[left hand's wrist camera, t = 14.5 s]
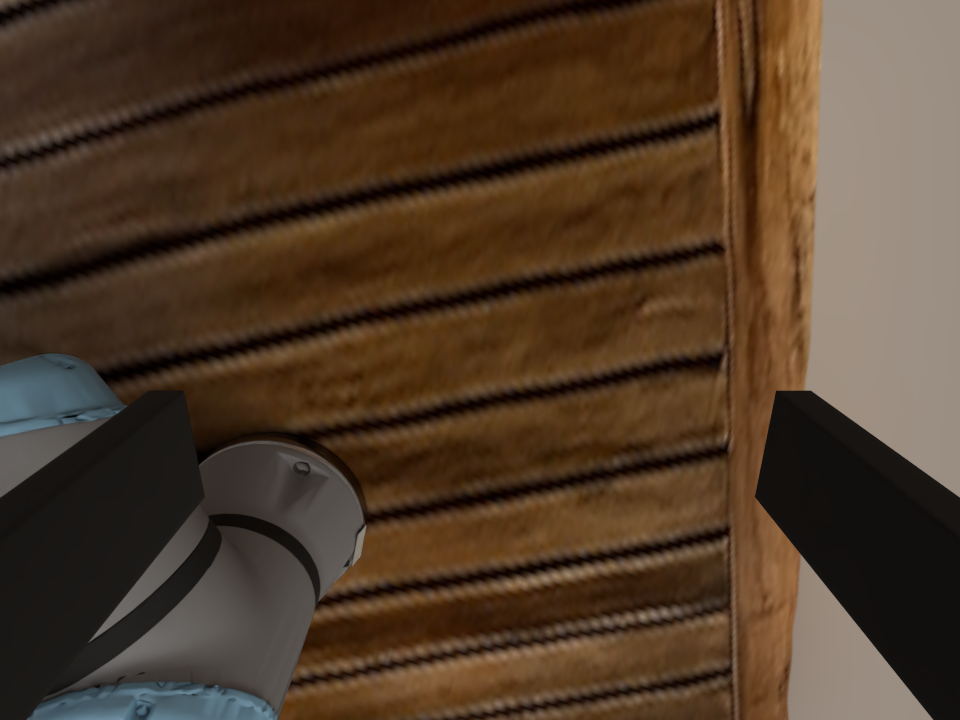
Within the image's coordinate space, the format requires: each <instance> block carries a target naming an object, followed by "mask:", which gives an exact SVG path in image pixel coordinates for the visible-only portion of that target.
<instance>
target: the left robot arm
mask: <svg viewBox="0 0 960 720" xmlns="http://www.w3.org/2000/svg"><path fill="white" fill-rule="evenodd" d="M755 498H756V499H757V500H758V501H759V503H760V504H761V505H762V506H763V508H764V509H765V510H766V511H767V513H768V514H769V515H770V516H771V518H772V519H773V520H774V521H775V523H776V524H777V525H778V526H779V528H780V529H781V530H782V531H783V533H784V534H785V535H786V536H787V538H788V539H789V540H790V541H791V543H792V544H793V545H794V546H795V548H796V549H797V550H798V551H799V553H800V554H801V555H802V556H803V558H804V559H805V560H806V561H807V563H808V564H809V565H810V566H811V568H812V569H813V570H814V571H815V573H816V574H817V575H818V576H819V578H820V579H821V580H822V581H823V583H824V584H825V585H826V586H827V588H828V589H829V590H830V591H831V592H832V594H833V595H834V596H835V597H836V599H837V600H838V601H839V602H840V604H841V605H842V606H843V607H844V609H845V610H846V611H847V612H848V614H849V615H850V616H851V617H852V619H853V620H854V621H855V622H856V624H857V625H858V626H859V627H860V629H861V630H862V631H863V632H864V634H865V635H866V636H867V637H868V639H869V640H870V641H871V642H872V644H873V645H874V646H875V647H876V649H877V650H878V651H879V652H880V654H881V655H882V656H883V657H884V659H885V660H886V661H887V662H888V664H889V665H890V666H891V667H892V669H893V670H894V671H895V672H896V674H897V675H898V676H899V677H900V679H901V680H902V681H903V682H904V684H905V685H906V686H907V687H908V689H909V690H910V691H911V692H912V694H913V695H914V696H915V697H916V699H917V700H918V701H919V702H920V704H921V705H922V706H923V707H924V709H925V710H926V711H927V712H928V714H929V715H930V716H931V717H932V719H933V720H960V497H958V496H957V495H955V494H954V493H953V492H951V491H950V490H948V489H947V488H946V487H944V486H943V485H941V484H940V483H939V482H937V481H936V480H934V479H933V478H932V477H930V476H929V475H927V474H926V473H925V472H923V471H922V470H921V469H919V468H918V467H916V466H915V465H914V464H912V463H911V462H909V461H908V460H907V459H905V458H904V457H902V456H901V455H900V454H898V453H897V452H895V451H894V450H893V449H891V448H890V447H888V446H887V445H886V444H884V443H883V442H882V441H880V440H879V439H877V438H876V437H874V436H873V435H872V434H870V433H869V432H868V431H866V430H865V429H863V428H862V427H861V426H859V425H858V424H856V423H855V422H854V421H852V420H851V419H849V418H848V417H847V416H845V415H844V414H842V413H841V412H840V411H838V410H837V409H835V408H834V407H833V406H831V405H830V404H828V403H827V402H826V401H824V400H823V399H822V398H820V397H819V396H817V395H816V394H815V393H813V392H812V391H776V394H775V399H774V404H773V409H772V414H771V419H770V424H769V429H768V434H767V439H766V444H765V449H764V454H763V459H762V464H761V469H760V474H759V479H758V484H757V489H756V494H755ZM366 526H367V506H366V501H365V497H364V494H363V491H362V489H361V487H360V485H359V483H358V481H357V480H356V478H355V477H354V475H353V474H352V472H351V471H350V470H349V469H348V468H347V467H346V465H345V464H344V463H343V462H342V461H340V460H339V459H338V458H337V457H336V456H334V455H333V454H332V453H331V452H329V451H327V450H326V449H324V448H323V447H321V446H319V445H317V444H315V443H313V442H311V441H308V440H306V439H303V438H300V437H296V436H292V435H287V434H281V433H256V434H250V435H245V436H241V437H238V438H235V439H233V440H230V441H228V442H226V443H224V444H222V445H221V446H219V447H218V448H216V449H215V450H214V451H213V452H211V453H210V454H209V455H208V456H207V457H206V458H205V460H204V461H203V462H202V463H201V464H200V465H199V464H198V459H197V454H196V449H195V444H194V439H193V434H192V429H191V424H190V419H189V414H188V409H187V404H186V399H185V394H184V391H148V392H147V393H145V394H144V395H143V396H141V397H140V398H138V399H137V400H136V401H134V402H133V403H131V404H130V405H129V406H128V405H124V404H123V403H122V401H121V400H120V399H119V398H118V397H117V396H116V395H115V393H114V392H113V391H112V390H111V389H110V388H109V386H108V385H107V384H106V383H105V382H104V381H103V380H102V378H101V377H100V376H99V375H98V374H97V373H96V371H95V370H94V369H93V368H92V367H91V366H90V365H89V364H88V363H86V362H85V361H83V360H81V359H79V358H77V357H75V356H71V355H67V354H59V353H52V354H43V355H37V356H33V357H29V358H26V359H22V360H18V361H15V362H12V363H8V364H5V365H1V366H0V720H278V718H279V715H280V712H281V709H282V706H283V703H284V700H285V697H286V694H287V691H288V688H289V685H290V682H291V679H292V677H293V674H294V671H295V668H296V665H297V662H298V659H299V656H300V653H301V650H302V647H303V644H304V641H305V638H306V635H307V632H308V629H309V626H310V623H311V620H312V617H313V614H314V612H315V609H316V606H317V603H318V602H319V601H320V599H321V598H322V597H323V596H324V595H325V594H326V593H327V592H328V590H329V589H330V588H331V587H332V585H333V584H334V582H335V581H337V580H338V579H339V578H340V577H341V576H342V575H343V574H344V573H345V572H346V571H347V570H348V568H349V567H350V566H351V565H352V566H353V565H354V563H355V562H356V561H357V560H358V559H359V557H360V556H361V551H362V546H363V541H364V535H365V530H366ZM352 563H353V564H352Z"/></svg>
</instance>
